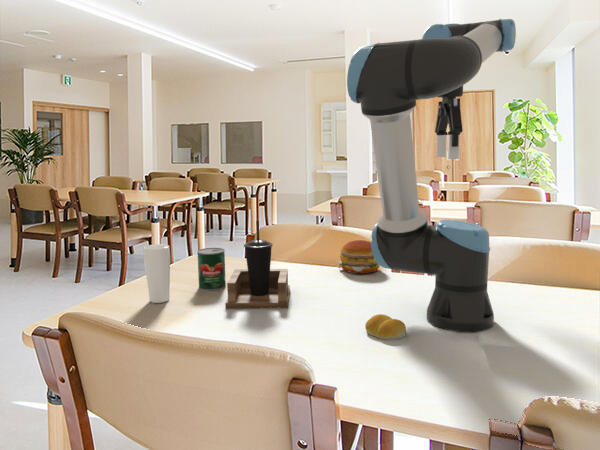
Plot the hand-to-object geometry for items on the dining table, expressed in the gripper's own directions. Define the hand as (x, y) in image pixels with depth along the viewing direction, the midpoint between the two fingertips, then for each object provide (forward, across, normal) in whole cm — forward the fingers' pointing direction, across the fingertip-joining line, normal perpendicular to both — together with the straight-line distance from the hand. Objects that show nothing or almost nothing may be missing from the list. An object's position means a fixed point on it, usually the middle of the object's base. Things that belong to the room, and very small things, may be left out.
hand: (446, 158), depth 152 cm
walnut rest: (+37, +17, -54) cm, 67 cm away
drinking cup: (+35, +17, -54) cm, 67 cm away
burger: (+37, -13, -24) cm, 46 cm away
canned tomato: (+37, +5, -69) cm, 78 cm away
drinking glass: (+37, +18, -81) cm, 91 cm away
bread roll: (+37, +42, -24) cm, 61 cm away
